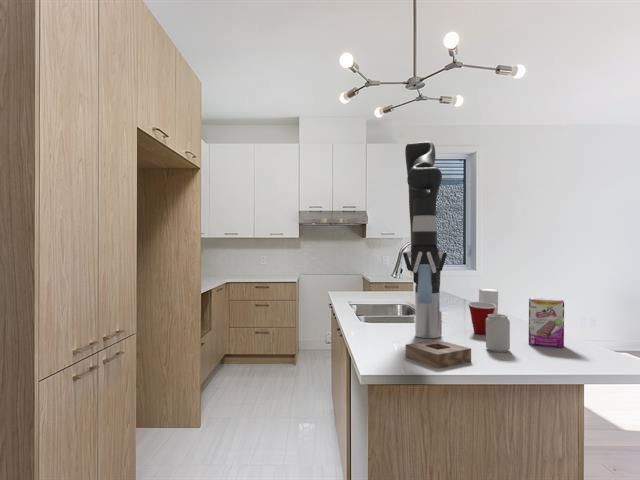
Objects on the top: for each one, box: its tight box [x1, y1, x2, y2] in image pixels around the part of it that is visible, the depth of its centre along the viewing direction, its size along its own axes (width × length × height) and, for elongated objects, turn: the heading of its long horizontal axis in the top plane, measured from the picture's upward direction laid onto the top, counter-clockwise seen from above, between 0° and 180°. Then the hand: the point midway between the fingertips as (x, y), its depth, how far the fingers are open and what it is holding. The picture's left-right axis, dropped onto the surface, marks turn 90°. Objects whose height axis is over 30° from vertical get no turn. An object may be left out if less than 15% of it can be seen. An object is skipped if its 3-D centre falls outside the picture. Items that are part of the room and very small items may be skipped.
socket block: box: [405, 339, 472, 369], centre depth 133 cm, size 14×14×4 cm
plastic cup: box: [467, 301, 496, 336], centre depth 171 cm, size 11×11×12 cm
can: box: [485, 313, 511, 353], centre depth 144 cm, size 8×8×12 cm
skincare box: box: [478, 288, 499, 314], centre depth 191 cm, size 8×7×16 cm
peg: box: [418, 265, 432, 304], centre depth 134 cm, size 4×4×12 cm
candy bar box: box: [528, 297, 565, 349], centre depth 151 cm, size 11×5×16 cm, turn 65°
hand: (424, 284), depth 134 cm, fingers closed on peg, 4 cm apart
